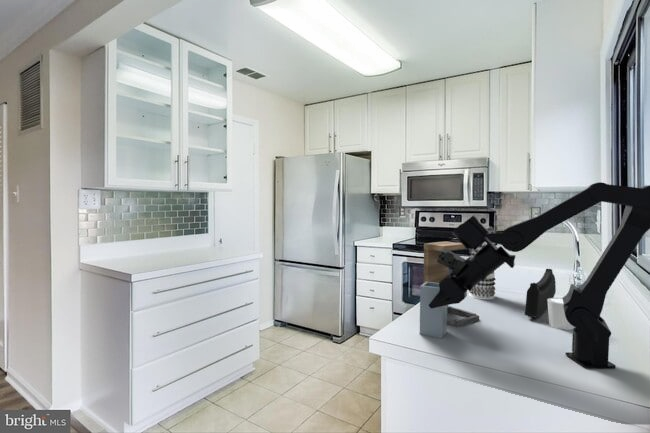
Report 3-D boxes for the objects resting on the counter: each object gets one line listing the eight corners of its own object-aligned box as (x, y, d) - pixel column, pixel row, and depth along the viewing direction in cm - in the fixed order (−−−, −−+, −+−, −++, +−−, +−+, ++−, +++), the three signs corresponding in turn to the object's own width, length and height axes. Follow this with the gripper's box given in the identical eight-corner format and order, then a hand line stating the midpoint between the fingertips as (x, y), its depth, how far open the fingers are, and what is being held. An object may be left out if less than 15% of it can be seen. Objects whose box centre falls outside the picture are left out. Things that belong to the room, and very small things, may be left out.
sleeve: (446, 331, 95) (447, 284, 95) (441, 338, 91) (442, 288, 90) (425, 327, 98) (426, 281, 98) (419, 333, 93) (420, 285, 93)
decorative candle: (496, 301, 124) (498, 228, 122) (467, 297, 128) (468, 226, 126) (496, 294, 132) (498, 226, 131) (469, 291, 136) (470, 225, 135)
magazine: (536, 292, 101) (555, 250, 122) (523, 290, 103) (544, 249, 124) (538, 345, 105) (556, 295, 126) (525, 342, 107) (545, 293, 129)
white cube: (562, 331, 95) (563, 305, 95) (540, 322, 102) (541, 298, 102) (582, 329, 97) (583, 303, 97) (559, 320, 104) (560, 296, 104)
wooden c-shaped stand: (479, 319, 104) (480, 245, 103) (457, 326, 99) (459, 248, 98) (444, 309, 114) (445, 241, 113) (422, 314, 109) (424, 243, 108)
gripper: (464, 236, 98) (422, 271, 105) (449, 243, 82) (401, 285, 89) (495, 268, 95) (450, 303, 101) (486, 282, 79) (433, 322, 85)
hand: (434, 302), depth 94 cm, fingers open, 9 cm apart
